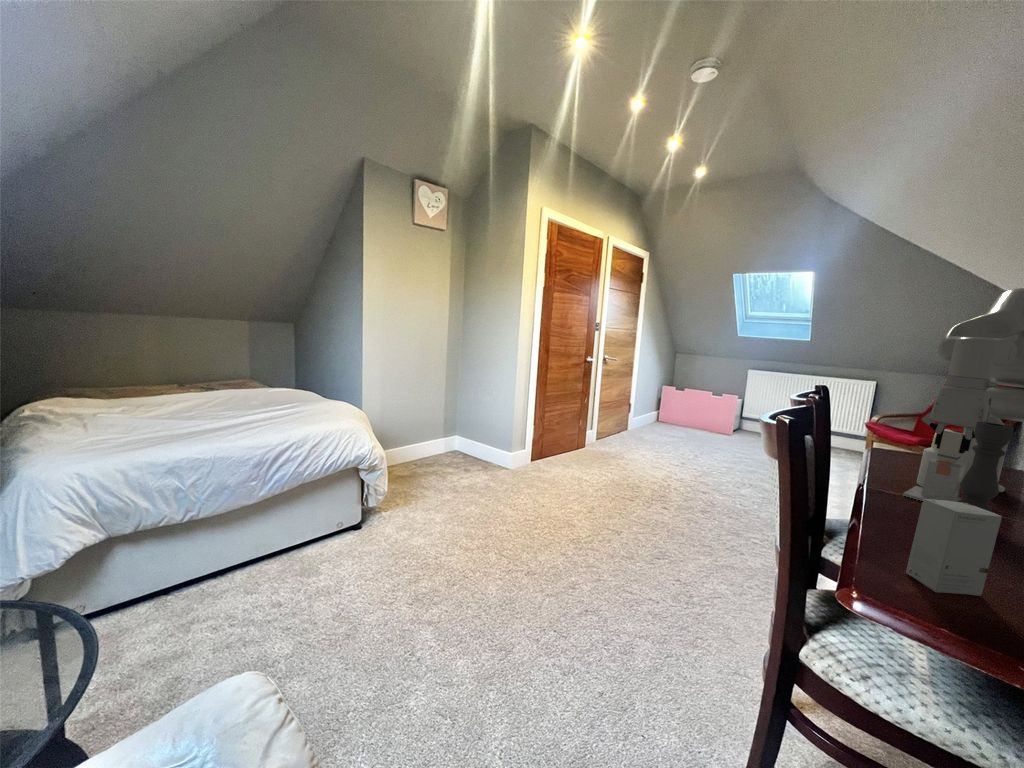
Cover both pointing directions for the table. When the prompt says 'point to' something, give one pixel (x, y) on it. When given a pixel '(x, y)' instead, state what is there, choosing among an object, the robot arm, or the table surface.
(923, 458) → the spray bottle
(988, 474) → the candle holder
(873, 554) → the table surface
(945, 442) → the jack column
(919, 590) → the table surface
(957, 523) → the skincare box
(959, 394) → the robot arm
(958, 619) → the table surface
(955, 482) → the white blocky piece
